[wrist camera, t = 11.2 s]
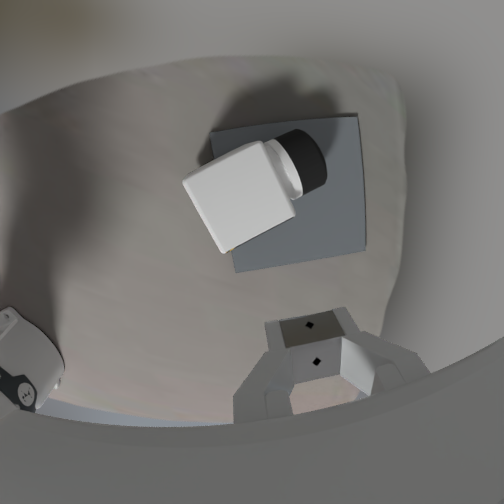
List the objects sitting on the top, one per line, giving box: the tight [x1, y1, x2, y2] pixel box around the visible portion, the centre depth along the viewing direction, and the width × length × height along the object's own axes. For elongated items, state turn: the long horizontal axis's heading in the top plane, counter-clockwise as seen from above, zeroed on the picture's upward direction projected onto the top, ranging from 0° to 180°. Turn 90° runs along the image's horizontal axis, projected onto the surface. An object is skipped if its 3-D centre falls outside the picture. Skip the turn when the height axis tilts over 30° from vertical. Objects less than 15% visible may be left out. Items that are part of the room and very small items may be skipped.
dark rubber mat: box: [210, 117, 365, 273], centre depth 30 cm, size 16×16×1 cm
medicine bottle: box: [182, 129, 327, 253], centre depth 26 cm, size 7×7×12 cm
